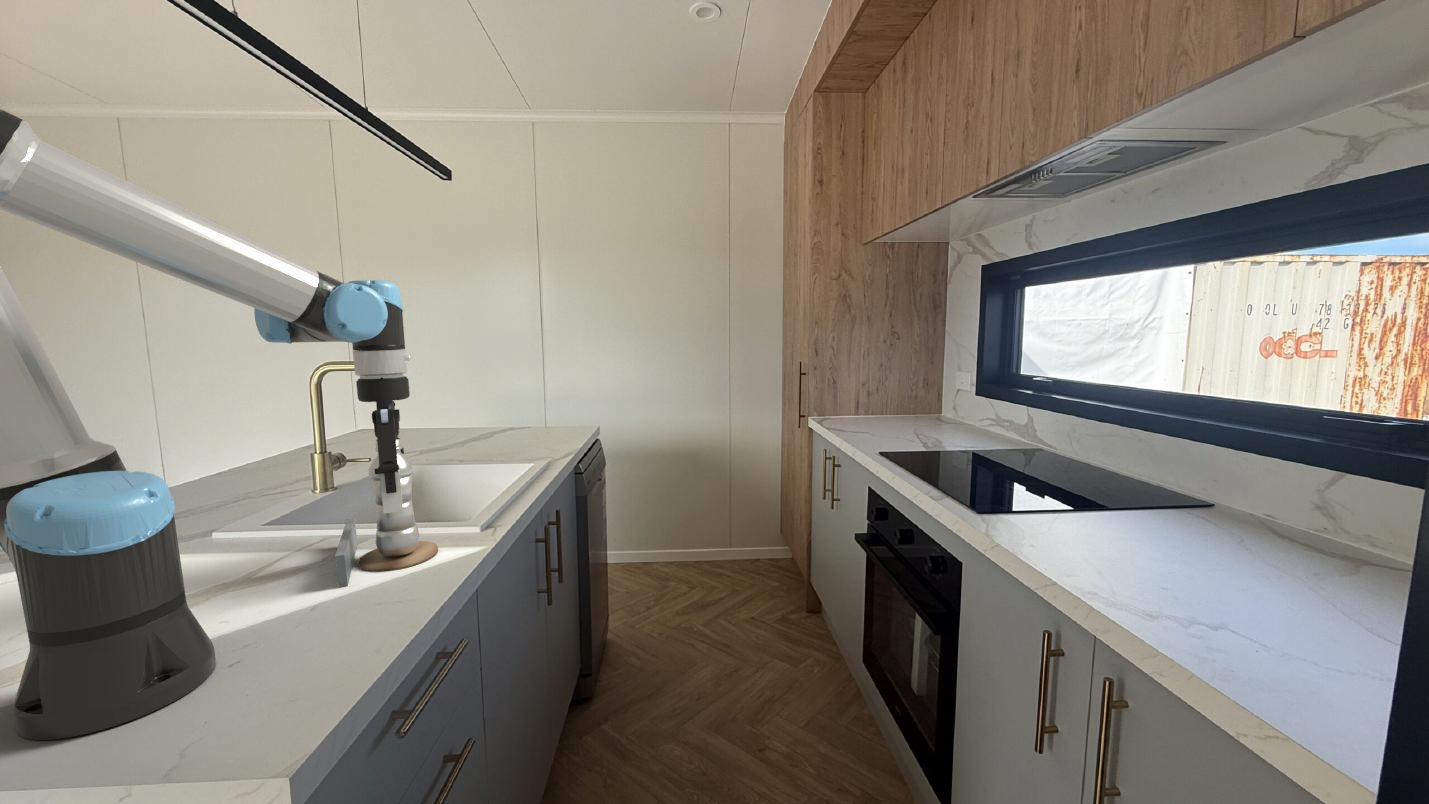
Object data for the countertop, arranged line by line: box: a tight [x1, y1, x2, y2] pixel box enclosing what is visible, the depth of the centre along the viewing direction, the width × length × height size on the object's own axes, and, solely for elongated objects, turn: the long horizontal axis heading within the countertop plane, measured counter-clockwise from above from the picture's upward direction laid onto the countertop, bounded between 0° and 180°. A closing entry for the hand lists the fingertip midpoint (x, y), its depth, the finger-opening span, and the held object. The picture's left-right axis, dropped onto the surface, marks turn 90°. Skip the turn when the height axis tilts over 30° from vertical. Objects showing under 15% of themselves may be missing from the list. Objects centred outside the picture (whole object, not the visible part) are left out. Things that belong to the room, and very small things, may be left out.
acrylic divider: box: [334, 517, 358, 588], centre depth 96 cm, size 1×20×5 cm, turn 28°
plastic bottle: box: [368, 436, 420, 557], centre depth 98 cm, size 6×7×20 cm
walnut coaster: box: [358, 540, 439, 572], centre depth 99 cm, size 12×12×1 cm
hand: (394, 501), depth 98 cm, fingers open, 13 cm apart
